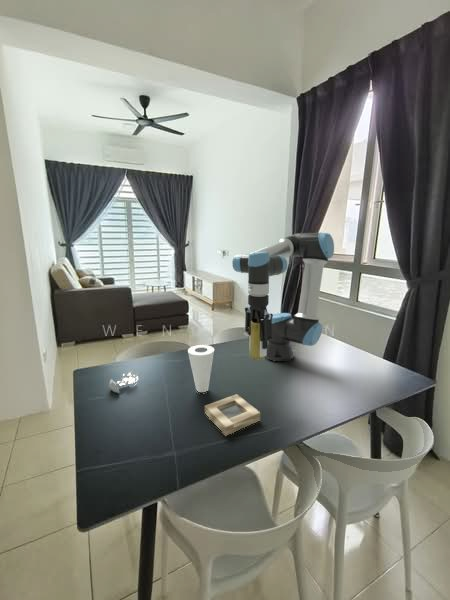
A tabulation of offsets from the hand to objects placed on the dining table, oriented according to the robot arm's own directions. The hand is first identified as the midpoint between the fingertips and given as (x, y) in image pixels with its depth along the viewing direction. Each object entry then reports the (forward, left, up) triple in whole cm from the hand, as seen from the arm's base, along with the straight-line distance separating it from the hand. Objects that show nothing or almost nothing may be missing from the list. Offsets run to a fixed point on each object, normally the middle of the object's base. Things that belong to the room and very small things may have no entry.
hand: (257, 353), depth 110 cm
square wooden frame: (+6, -16, -18) cm, 25 cm away
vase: (0, 0, -2) cm, 2 cm away
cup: (-16, -16, -19) cm, 29 cm away
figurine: (-36, -43, -19) cm, 59 cm away
